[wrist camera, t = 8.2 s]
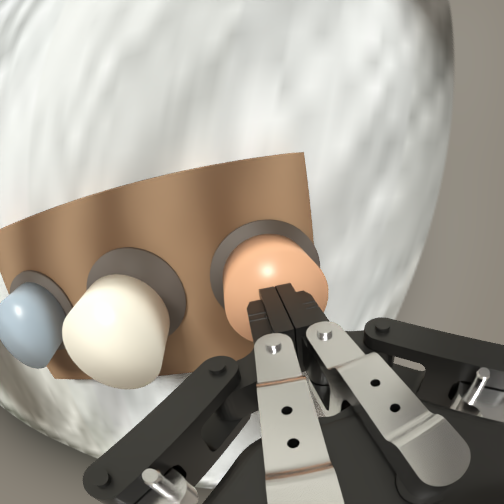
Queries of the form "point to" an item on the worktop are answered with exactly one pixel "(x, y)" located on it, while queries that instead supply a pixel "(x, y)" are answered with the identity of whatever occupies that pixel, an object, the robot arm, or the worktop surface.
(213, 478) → the worktop surface
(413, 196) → the worktop surface
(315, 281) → the button terracotta
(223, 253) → the board
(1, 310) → the button slate
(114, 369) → the button cream
